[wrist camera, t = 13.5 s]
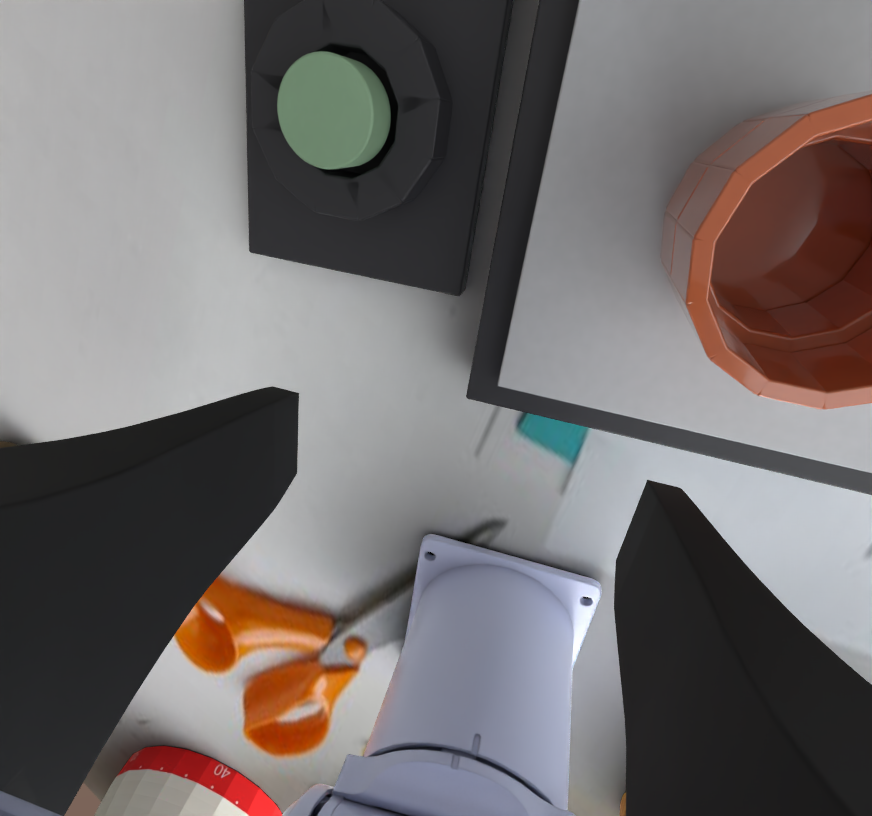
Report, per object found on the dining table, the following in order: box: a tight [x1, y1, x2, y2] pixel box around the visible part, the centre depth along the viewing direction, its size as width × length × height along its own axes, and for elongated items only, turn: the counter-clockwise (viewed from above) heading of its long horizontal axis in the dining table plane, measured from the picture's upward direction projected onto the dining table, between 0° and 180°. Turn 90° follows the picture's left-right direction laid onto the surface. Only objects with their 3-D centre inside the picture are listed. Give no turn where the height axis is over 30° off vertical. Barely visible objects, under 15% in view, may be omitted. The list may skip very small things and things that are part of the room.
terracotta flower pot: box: [660, 90, 872, 410], centre depth 12 cm, size 5×6×5 cm
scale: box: [466, 0, 872, 495], centre depth 15 cm, size 14×14×3 cm
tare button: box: [277, 51, 391, 169], centre depth 15 cm, size 3×3×2 cm
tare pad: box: [244, 0, 513, 296], centre depth 17 cm, size 10×8×2 cm
